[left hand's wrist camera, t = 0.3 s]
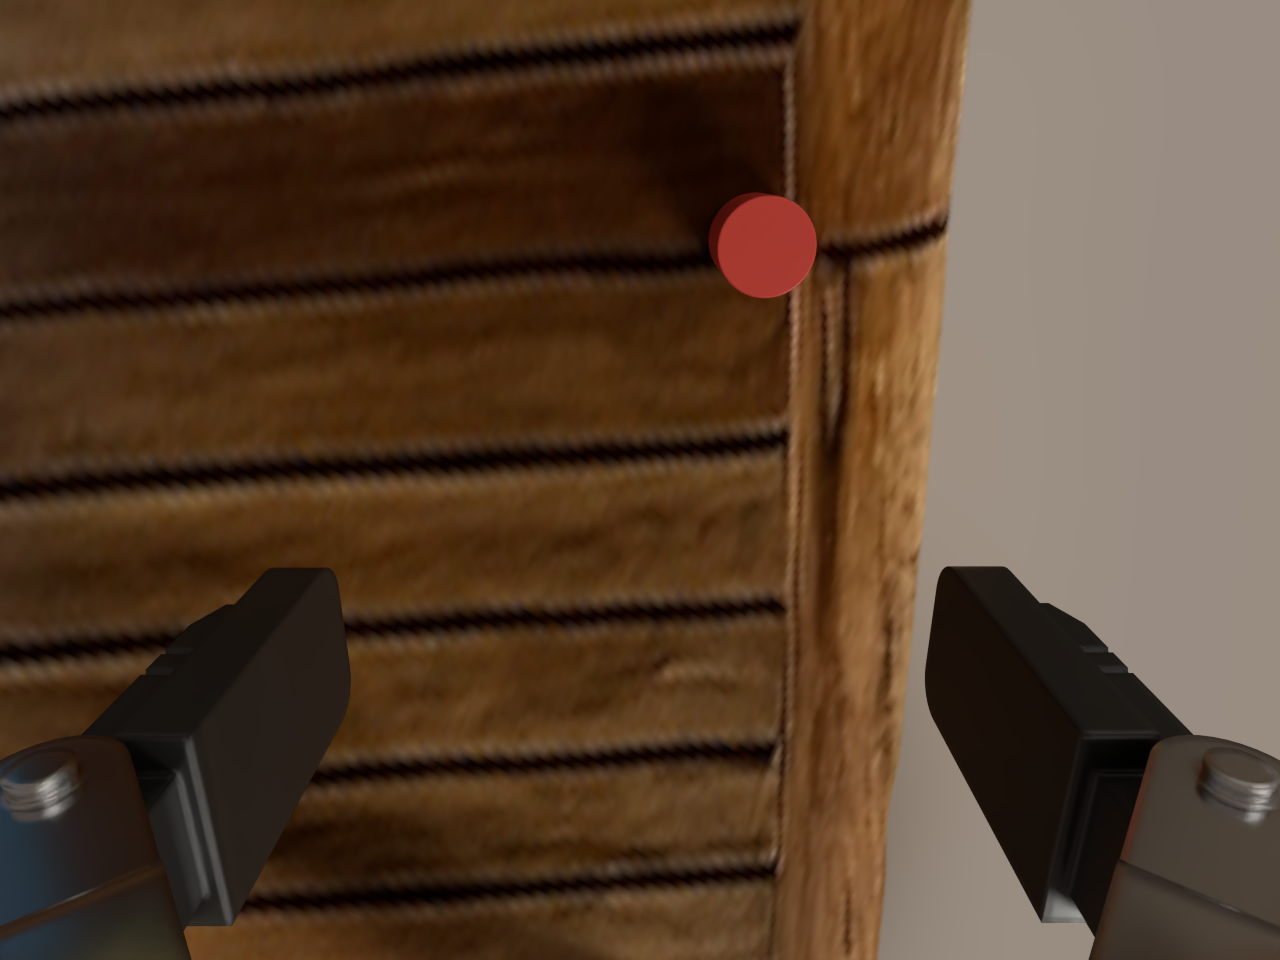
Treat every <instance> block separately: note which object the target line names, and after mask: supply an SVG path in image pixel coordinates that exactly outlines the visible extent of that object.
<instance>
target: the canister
mask: <svg viewBox="0 0 1280 960" xmlns="http://www.w3.org/2000/svg"><path fill="white" fill-rule="evenodd" d="M816 247H817V242H816V233H815V229H814V226H813V224H812V222H811V219H810V218H809V216H808V215H807V213H806V212H805V211H804V210H803V209H802V208H801V207H800V206H799V205H798V204H796V203H795V202H793V201H791V200H789V199H787V198H784V197H781V196H776V195H770V194H764V193H746V194H742V195H740V196H737V197H735V198H733V199H731V200H730V201H729V202H727V203H726V204H725V205H724V206H723V207H722V208H721V209H720V210H719V211H718V213H717V214H716V216H715V218H714V220H713V222H712V224H711V228H710V232H709V250H710V254H711V257H712V260H713V262H714V263H715V265H716V267H717V268H718V269H719V271H720V272H721V273H722V274H723V276H724V277H725V278H726V279H727V281H728V282H729V283H730V284H731V285H732V286H733V287H735V288H736V289H737V290H739V291H740V292H742V293H744V294H746V295H749V296H752V297H757V298H772V297H776V296H780V295H782V294H785V293H787V292H789V291H791V290H792V289H793V288H795V287H796V286H797V285H798V284H800V283H801V282H802V280H803V279H804V278H805V277H806V275H807V274H808V272H809V271H810V269H811V267H812V265H813V262H814V259H815V254H816Z"/></svg>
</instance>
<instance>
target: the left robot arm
mask: <svg viewBox="0 0 1280 960" xmlns="http://www.w3.org/2000/svg"><path fill="white" fill-rule="evenodd" d="M350 686H351V673H350V665H349V658H348V650H347V643H346V636H345V629H344V622H343V615H342V608H341V601H340V594H339V587H338V582H337V579H336V576H335V574H334V572H333V571H332V570H331V569H330V568H270V569H268V570H267V571H265V572H264V573H263V575H262V576H261V577H260V578H259V579H258V580H257V581H256V582H255V583H254V584H253V585H252V586H251V587H250V589H249V590H248V591H247V592H246V593H245V594H244V595H243V596H242V597H241V598H240V599H239V600H238V601H237V603H236V604H235V605H225V606H223V607H221V608H219V609H218V610H216V611H214V612H212V613H211V614H209V615H207V616H205V617H203V618H202V619H200V620H198V621H196V622H195V623H193V624H191V625H189V627H188V628H187V629H186V630H185V631H184V632H183V633H182V634H181V635H180V636H179V637H178V638H177V639H176V640H175V641H174V642H173V643H172V644H171V645H170V646H169V647H168V648H167V649H166V654H161V655H160V656H159V657H158V658H157V659H156V660H155V661H154V662H153V663H152V664H151V665H150V666H149V667H148V668H147V669H146V674H145V675H140V676H139V677H138V678H137V679H136V680H135V681H134V682H133V683H132V684H131V685H130V686H129V687H128V688H127V689H126V690H125V691H124V692H123V693H122V694H121V695H120V696H119V697H118V698H117V699H116V700H115V701H114V702H113V704H112V705H111V706H110V707H109V708H108V709H107V710H106V711H105V712H104V713H103V714H102V715H101V716H100V717H99V718H98V719H97V720H96V721H95V722H94V723H93V724H92V725H91V726H90V727H89V728H88V729H87V730H86V731H85V732H84V733H83V734H82V735H79V736H71V737H64V738H60V739H55V740H51V741H47V742H44V743H40V744H37V745H34V746H32V747H29V748H26V749H23V750H21V751H19V752H17V753H14V754H12V755H10V756H8V757H6V758H4V759H2V760H0V960H191V957H190V953H189V950H188V946H187V943H186V939H185V936H184V932H183V931H184V930H185V928H186V926H232V924H233V923H234V921H235V919H236V917H237V915H238V913H239V911H240V910H241V908H242V906H243V904H244V902H245V900H246V898H247V897H248V895H249V893H250V891H251V889H252V887H253V886H254V884H255V882H256V880H257V878H258V876H259V874H260V873H261V871H262V869H263V867H264V865H265V863H266V861H267V860H268V858H269V856H270V854H271V852H272V850H273V848H274V847H275V845H276V843H277V841H278V839H279V837H280V835H281V834H282V832H283V830H284V828H285V826H286V824H287V822H288V821H289V819H290V817H291V815H292V813H293V811H294V810H295V808H296V806H297V804H298V802H299V800H300V798H301V797H302V795H303V793H304V791H305V789H306V787H307V785H308V784H309V782H310V780H311V778H312V776H313V774H314V772H315V771H316V769H317V767H318V765H319V763H320V761H321V759H322V758H323V756H324V754H325V752H326V750H327V748H328V746H329V745H330V743H331V741H332V739H333V737H334V735H335V734H336V732H337V730H338V728H339V726H340V724H341V722H342V720H343V718H344V716H345V713H346V710H347V706H348V702H349V696H350ZM925 689H926V697H927V702H928V706H929V710H930V713H931V716H932V718H933V720H934V722H935V723H936V725H937V727H938V729H939V731H940V733H941V735H942V737H943V738H944V740H945V742H946V744H947V746H948V748H949V750H950V752H951V754H952V755H953V757H954V759H955V761H956V763H957V765H958V767H959V769H960V770H961V772H962V774H963V776H964V778H965V780H966V782H967V784H968V785H969V787H970V789H971V791H972V793H973V795H974V797H975V799H976V800H977V802H978V804H979V806H980V808H981V810H982V812H983V814H984V815H985V817H986V819H987V821H988V823H989V825H990V827H991V829H992V831H993V832H994V834H995V836H996V838H997V840H998V842H999V844H1000V846H1001V847H1002V849H1003V851H1004V853H1005V855H1006V857H1007V859H1008V861H1009V862H1010V864H1011V866H1012V868H1013V870H1014V872H1015V874H1016V876H1017V877H1018V879H1019V881H1020V883H1021V885H1022V887H1023V889H1024V891H1025V892H1026V894H1027V896H1028V898H1029V900H1030V902H1031V904H1032V906H1033V907H1034V909H1035V911H1036V913H1037V915H1038V917H1039V919H1040V920H1041V922H1042V923H1087V925H1088V927H1089V928H1090V930H1091V932H1092V933H1093V935H1094V937H1095V939H1094V943H1093V946H1092V950H1091V953H1090V957H1089V960H1280V760H1278V759H1276V758H1274V757H1272V756H1270V755H1268V754H1266V753H1263V752H1261V751H1259V750H1257V749H1254V748H1251V747H1248V746H1246V745H1243V744H1240V743H1236V742H1233V741H1229V740H1225V739H1220V738H1216V737H1209V736H1201V735H1193V734H1192V733H1191V732H1190V731H1189V730H1188V729H1187V728H1186V727H1185V726H1184V725H1183V724H1182V723H1181V722H1180V721H1179V720H1178V719H1177V718H1176V717H1175V716H1174V715H1173V713H1172V712H1171V711H1170V710H1169V709H1168V708H1167V707H1166V706H1165V705H1164V704H1163V703H1162V702H1161V701H1160V700H1159V699H1158V698H1157V697H1156V696H1155V695H1154V694H1153V693H1152V692H1151V691H1150V690H1149V689H1148V688H1147V687H1146V686H1145V685H1144V684H1143V683H1142V682H1141V681H1140V680H1139V679H1138V678H1137V677H1136V676H1135V675H1134V674H1133V673H1128V667H1127V666H1126V665H1125V664H1124V663H1123V662H1122V661H1121V660H1120V659H1119V658H1118V657H1117V656H1116V655H1115V654H1114V653H1109V652H1108V647H1107V646H1106V645H1105V644H1104V643H1103V642H1102V641H1101V640H1100V639H1099V638H1098V637H1097V636H1096V635H1095V634H1094V633H1093V632H1092V631H1091V630H1090V629H1089V628H1088V627H1087V626H1086V625H1085V624H1084V623H1083V622H1081V621H1079V620H1077V619H1076V618H1074V617H1072V616H1070V615H1068V614H1067V613H1065V612H1063V611H1061V610H1060V609H1058V608H1056V607H1054V606H1053V605H1051V604H1049V603H1039V602H1038V601H1037V599H1036V598H1035V597H1034V596H1033V595H1032V594H1031V593H1030V592H1029V591H1028V590H1027V589H1026V588H1025V586H1024V585H1023V584H1022V583H1021V582H1020V581H1019V580H1018V579H1017V578H1016V577H1015V576H1014V574H1013V573H1012V572H1011V571H1010V570H1009V569H1008V568H1006V567H996V566H995V567H993V566H990V567H989V566H981V567H978V566H977V567H976V566H975V567H974V566H972V567H970V566H969V567H968V566H967V567H964V566H963V567H961V566H958V567H957V566H954V567H953V566H951V567H950V566H948V567H945V568H944V569H943V570H942V572H941V573H940V576H939V579H938V583H937V588H936V596H935V603H934V610H933V617H932V624H931V632H930V639H929V646H928V653H927V660H926V668H925Z"/></svg>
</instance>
